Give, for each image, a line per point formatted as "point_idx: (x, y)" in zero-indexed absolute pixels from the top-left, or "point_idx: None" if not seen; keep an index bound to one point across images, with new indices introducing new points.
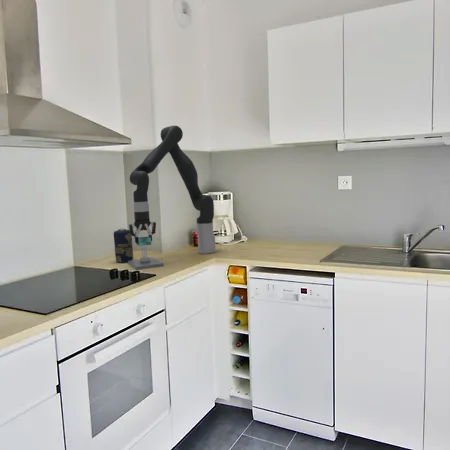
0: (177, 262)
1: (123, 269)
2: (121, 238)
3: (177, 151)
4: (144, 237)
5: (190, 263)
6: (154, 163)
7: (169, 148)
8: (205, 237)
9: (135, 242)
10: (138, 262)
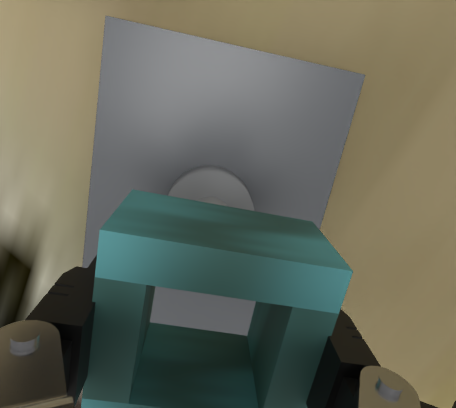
0: (408, 302)
1: (10, 218)
2: None
3: None
4: (260, 299)
5: (433, 385)
6: None
7: None
8: None
9: (70, 278)
10: (157, 178)
